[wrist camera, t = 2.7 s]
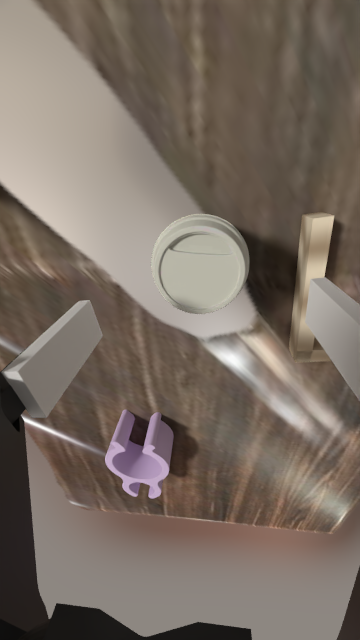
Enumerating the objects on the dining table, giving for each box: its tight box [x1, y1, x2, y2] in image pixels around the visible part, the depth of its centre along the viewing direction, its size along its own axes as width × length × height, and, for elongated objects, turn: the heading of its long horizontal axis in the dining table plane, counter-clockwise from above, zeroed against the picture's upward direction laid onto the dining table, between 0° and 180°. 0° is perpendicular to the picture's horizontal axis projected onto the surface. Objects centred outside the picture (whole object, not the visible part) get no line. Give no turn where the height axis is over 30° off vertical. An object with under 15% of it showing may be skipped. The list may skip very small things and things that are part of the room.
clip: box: [105, 410, 174, 498], centre depth 50 cm, size 20×12×7 cm, turn 1°
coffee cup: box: [151, 214, 249, 314], centre depth 24 cm, size 8×8×12 cm
